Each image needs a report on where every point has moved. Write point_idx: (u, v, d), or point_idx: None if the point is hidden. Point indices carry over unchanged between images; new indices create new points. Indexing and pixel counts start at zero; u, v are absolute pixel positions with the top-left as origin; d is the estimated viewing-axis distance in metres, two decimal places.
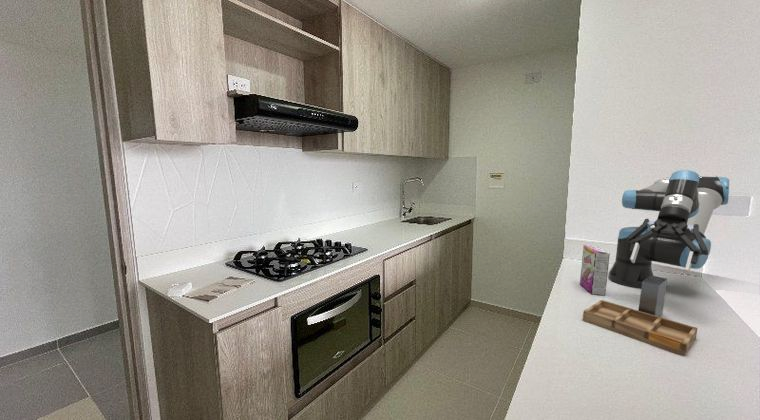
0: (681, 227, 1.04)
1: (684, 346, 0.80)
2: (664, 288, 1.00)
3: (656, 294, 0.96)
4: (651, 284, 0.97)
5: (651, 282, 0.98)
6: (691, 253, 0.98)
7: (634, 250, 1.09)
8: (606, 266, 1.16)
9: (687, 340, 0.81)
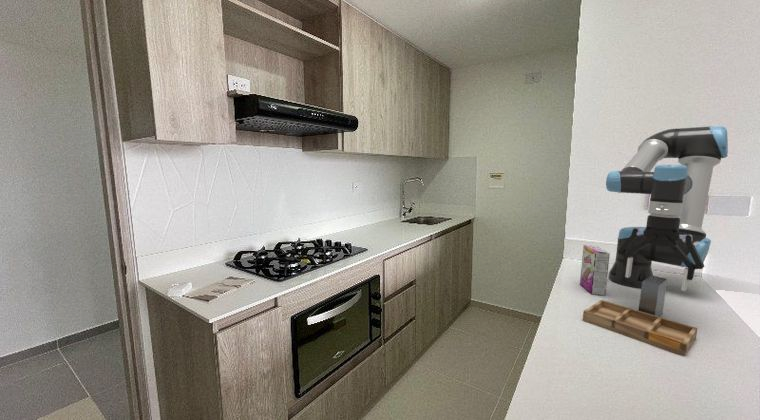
0: (672, 239, 0.95)
1: (684, 346, 0.80)
2: (664, 288, 1.00)
3: (656, 294, 0.96)
4: (651, 284, 0.97)
5: (651, 282, 0.98)
6: (686, 271, 0.93)
7: (627, 267, 1.04)
8: (606, 266, 1.16)
9: (687, 340, 0.81)
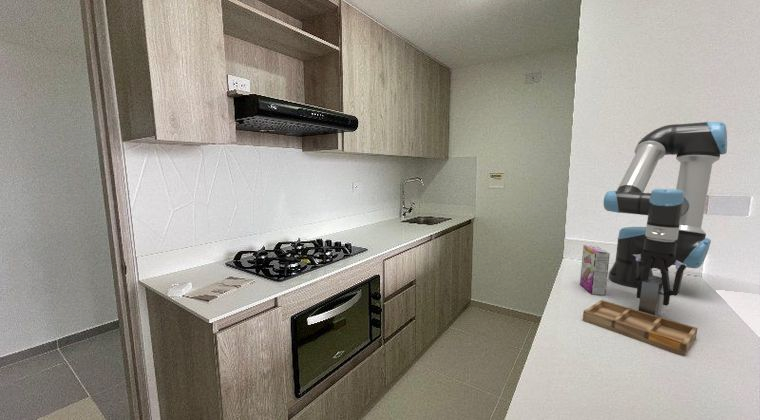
0: (667, 262, 0.96)
1: (684, 346, 0.80)
2: None
3: (656, 294, 0.96)
4: (651, 284, 0.97)
5: (651, 282, 0.98)
6: (662, 297, 0.98)
7: None
8: (606, 266, 1.16)
9: (687, 340, 0.81)
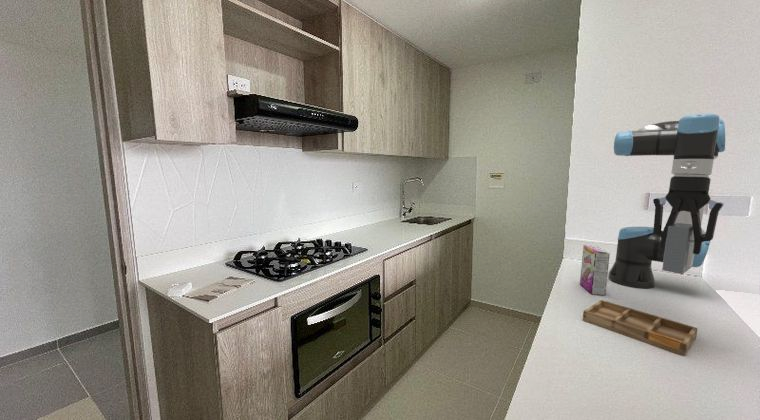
0: (699, 201, 0.81)
1: (684, 346, 0.80)
2: None
3: (686, 239, 0.81)
4: (679, 228, 0.82)
5: (679, 226, 0.82)
6: (692, 244, 0.83)
7: None
8: (606, 266, 1.16)
9: (687, 340, 0.81)
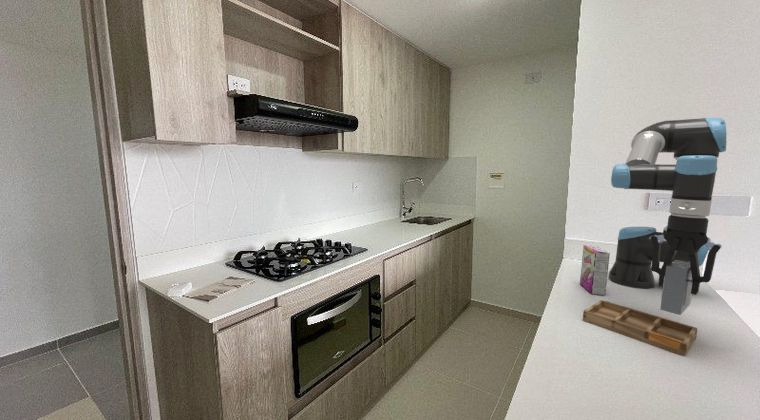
0: (697, 242, 0.81)
1: (684, 346, 0.80)
2: None
3: (684, 280, 0.80)
4: (677, 269, 0.81)
5: (677, 266, 0.82)
6: (690, 284, 0.82)
7: None
8: (606, 266, 1.16)
9: (687, 340, 0.81)
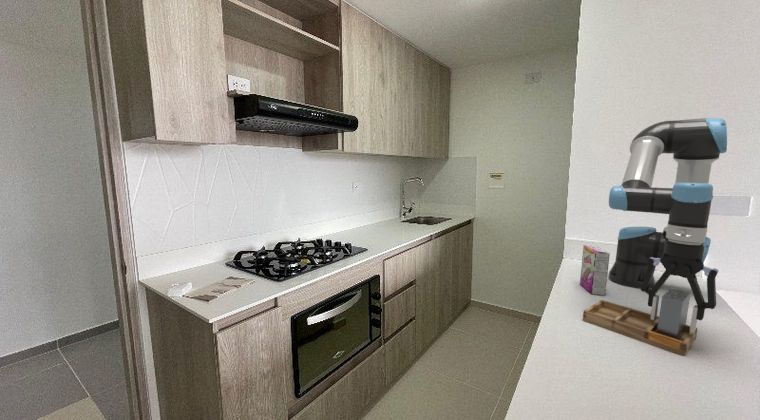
0: (694, 269, 0.82)
1: (684, 346, 0.80)
2: (687, 304, 0.86)
3: (679, 312, 0.82)
4: (673, 300, 0.82)
5: (673, 297, 0.83)
6: (695, 310, 0.82)
7: (653, 307, 0.89)
8: (606, 266, 1.16)
9: (687, 340, 0.81)
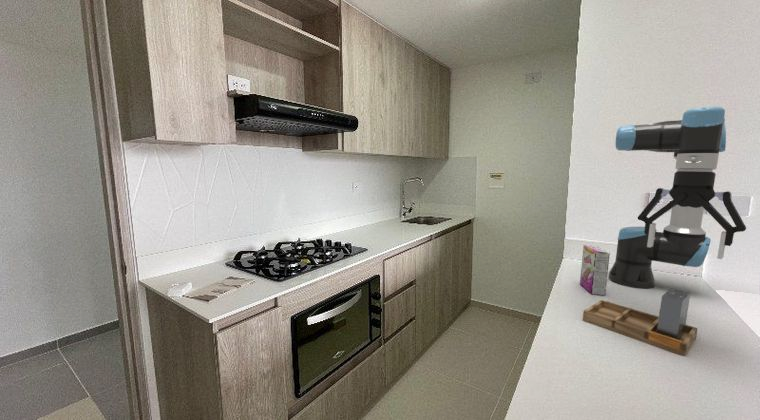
0: (706, 197, 0.79)
1: (684, 346, 0.80)
2: (687, 304, 0.86)
3: (679, 312, 0.82)
4: (673, 300, 0.82)
5: (672, 297, 0.83)
6: (723, 235, 0.77)
7: (650, 235, 0.88)
8: (606, 266, 1.16)
9: (687, 340, 0.81)
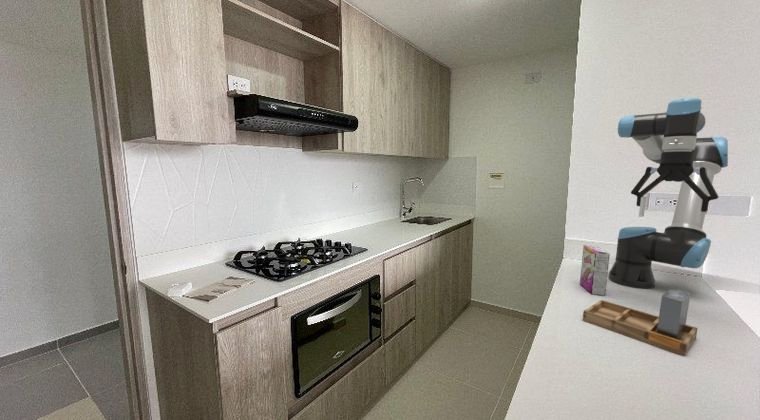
0: (686, 173, 0.96)
1: (684, 346, 0.80)
2: (687, 304, 0.86)
3: (679, 312, 0.82)
4: (673, 300, 0.82)
5: (672, 297, 0.83)
6: (700, 203, 0.94)
7: (641, 206, 1.05)
8: (606, 266, 1.16)
9: (687, 340, 0.81)
